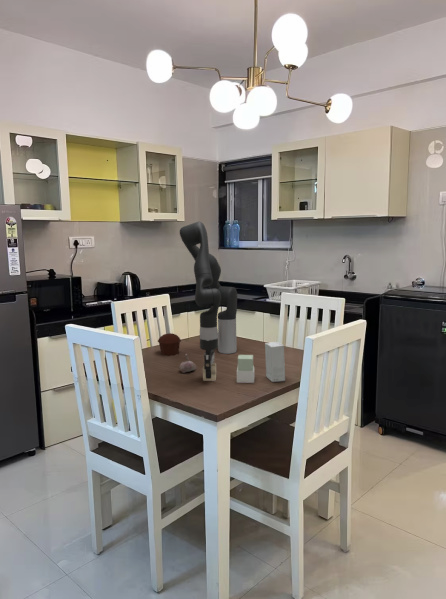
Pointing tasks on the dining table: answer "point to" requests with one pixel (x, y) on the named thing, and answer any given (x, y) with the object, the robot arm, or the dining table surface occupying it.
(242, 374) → the grey base block
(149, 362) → the dining table surface
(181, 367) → the garlic bulb
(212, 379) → the beige metal block
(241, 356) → the sage block
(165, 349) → the muffin
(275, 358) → the skincare box
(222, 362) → the dining table surface
